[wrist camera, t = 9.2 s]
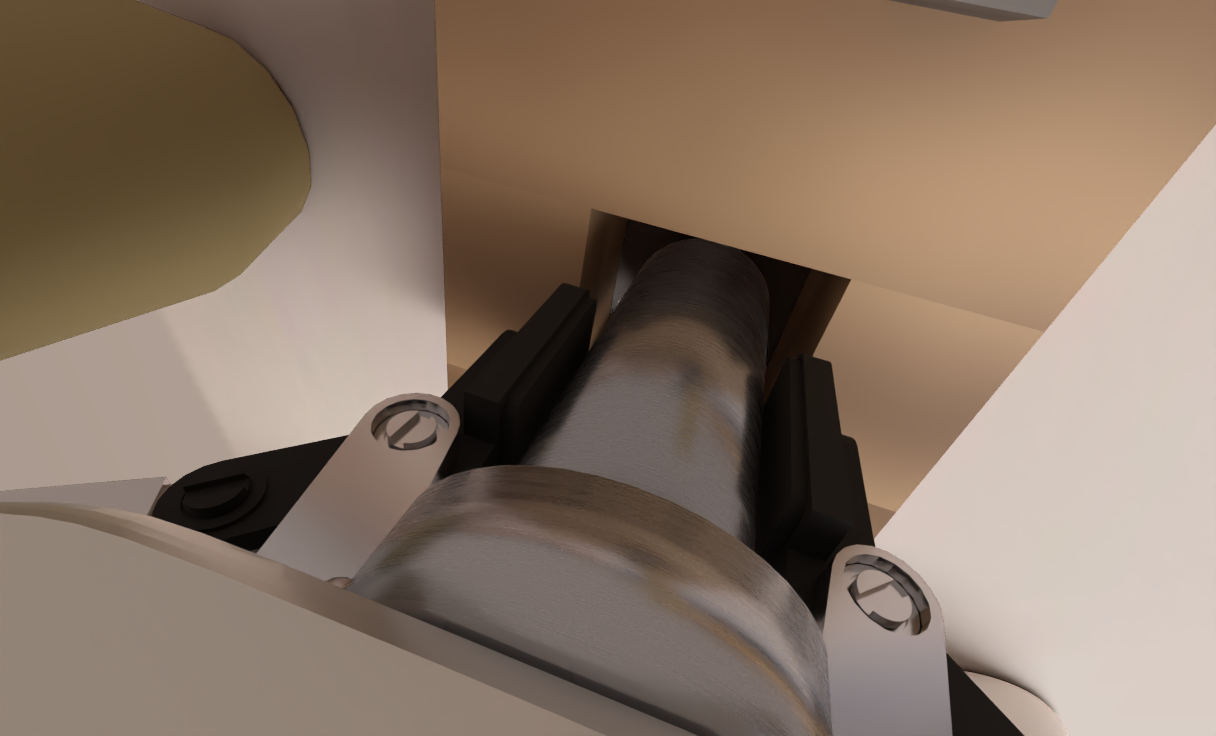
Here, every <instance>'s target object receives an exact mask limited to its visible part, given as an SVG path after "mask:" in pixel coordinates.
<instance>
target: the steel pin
mask: <svg viewBox="0 0 1216 736" xmlns="http://www.w3.org/2000/svg"><path fill="white" fill-rule="evenodd" d="M769 304H770V299H769V291H768V288H767V284H766V281H765V279H764V277H763V275H762V273H761V272H760V270H759V269H758V267H757V266H756V265H755V263H754V262H753V261H752V260H751V259H750V258H749V257H748V256H746V255H745V254H744V253H743V252H741V251H740V250H738V249H737V248H735V247H731V246H727V245H724V244H720V243H716V242H712V241H709V240H705V239H701V238H693V239H685V240H680V241H677V242H674V243H671V244H669V245H667V246H665V247H663V248H661V249H660V250H658V251H657V252H655V253H654V254H653V255H652V256H651V257H650V258H649V259H648V260H647V261H646V262H645V263H644V265H643V266H642V268H641V269H640V271H639V272H638V274H637V276H636V277H635V279H634V280H633V282H632V284H631V285H630V287H629V288H628V290H627V292H626V293H625V295H624V296H623V298H622V299H621V301H620V303H619V304H618V306H617V307H616V309H615V311H614V312H613V314H612V315H611V317H610V319H609V320H608V322H607V323H606V325H605V327H604V328H603V330H602V331H601V333H600V334H599V336H598V338H597V339H596V341H595V342H594V344H593V346H592V347H591V349H590V350H589V352H588V354H587V355H586V357H585V358H584V360H583V362H582V363H581V365H580V366H579V368H578V369H577V371H576V373H575V374H574V376H573V377H572V379H571V381H570V382H569V384H568V385H567V387H566V389H565V390H564V392H563V393H562V395H561V397H560V398H559V400H558V401H557V403H556V404H555V406H554V408H553V409H552V411H551V412H550V414H549V416H548V417H547V419H546V420H545V422H544V424H543V425H542V427H541V428H540V430H539V432H538V433H537V435H536V436H535V438H534V439H533V441H532V443H531V444H530V446H529V447H528V449H527V451H526V452H525V454H524V455H523V457H522V459H521V460H520V462H519V463H518V465H499V466H491V467H484V468H476V469H471V470H468V471H464V472H461V473H457V474H454V475H451V476H449V477H447V478H445V479H443V480H441V481H439V482H436V483H434V484H433V485H431V486H430V487H429V488H427V489H426V490H425V491H424V492H422V493H421V494H420V495H419V496H418V497H417V498H416V499H415V501H414V502H413V503H412V504H411V506H410V507H409V508H408V509H407V511H406V512H405V513H404V514H403V516H402V517H401V518H400V519H399V521H398V522H397V523H396V524H395V526H394V527H393V528H392V529H391V531H390V532H389V533H388V534H387V536H386V537H385V538H384V539H383V541H382V542H381V543H380V544H379V546H378V547H377V548H376V549H375V551H374V552H373V553H372V554H371V556H370V557H369V558H368V559H367V560H366V562H365V563H364V564H363V565H362V567H361V568H360V569H359V570H358V572H357V573H356V574H355V575H354V577H353V578H352V579H351V580H350V582H349V583H348V584H347V586H346V587H345V588H344V589H345V590H348V591H350V592H353V593H355V594H357V595H360V596H362V597H365V598H367V599H370V600H372V601H374V602H377V603H379V604H382V605H384V606H387V607H389V608H392V609H394V610H396V611H399V612H401V613H404V614H406V615H409V616H411V617H414V618H416V619H418V620H421V621H423V622H426V623H428V624H431V625H433V626H435V627H438V628H440V629H443V630H445V631H448V632H450V633H453V634H455V635H457V636H460V637H462V638H465V639H467V640H470V641H472V642H474V643H477V644H479V645H482V646H484V647H486V648H489V649H491V650H494V651H496V652H498V653H501V654H503V655H506V656H508V657H510V658H513V659H515V660H518V661H520V662H523V663H525V664H527V665H530V666H532V667H535V668H537V669H539V670H542V671H544V672H547V673H549V674H551V675H554V676H556V677H559V678H561V679H563V680H566V681H568V682H571V683H573V684H575V685H578V686H580V687H583V688H585V689H587V690H590V691H592V692H595V693H597V694H599V695H602V696H604V697H607V698H609V699H611V700H614V701H616V702H619V703H621V704H623V705H626V706H628V707H631V708H633V709H635V710H638V711H640V712H643V713H645V714H647V715H650V716H652V717H655V718H657V719H659V720H662V721H664V722H667V723H669V724H671V725H674V726H676V727H679V728H681V729H683V730H686V731H688V732H691V733H693V734H695V735H698V736H833V732H832V717H831V702H830V687H829V672H828V657H827V648H826V645H825V642H824V639H823V636H822V634H821V631H820V628H819V626H818V624H817V623H816V621H815V619H814V617H813V616H812V614H811V612H810V610H809V609H808V607H807V605H806V604H805V603H804V602H803V600H802V599H801V598H800V597H799V595H798V594H797V593H796V592H795V590H794V589H793V588H792V587H791V585H790V584H789V583H788V582H787V581H786V580H785V579H784V578H783V577H782V576H781V575H780V574H779V573H778V572H777V571H776V570H775V569H774V568H773V567H772V566H771V565H770V564H769V563H768V562H767V561H765V560H764V559H763V558H762V557H760V556H759V555H758V554H756V553H755V552H754V551H755V535H756V519H757V502H758V486H759V470H760V454H761V437H762V421H763V405H764V388H765V372H766V356H767V339H768V323H769Z"/></svg>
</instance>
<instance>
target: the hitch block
mask: <svg viewBox="0 0 1216 736" xmlns="http://www.w3.org/2000/svg"><path fill="white" fill-rule="evenodd" d="M435 25H436V54H437V83H438V112H439V141H440V171H441V200H442V229H443V258H444V287H445V316H446V345H447V374H448V389H449V388H450V387H451V386H452V385H453V384H454V383H455V382H456V381H457V380H458V379H459V378H460V377H461V376H462V375H463V374H464V373H465V372H466V371H467V370H468V368H469V367H470V366H471V365H472V364H473V363H474V362H475V361H476V360H477V359H478V358H479V357H480V356H481V355H482V354H483V353H484V352H485V351H486V350H487V349H488V348H489V347H490V345H491V344H492V343H493V342H494V341H495V340H496V339H497V338H498V337H499V336H500V335H501V334H502V333H503V332H504V331H506V330H514V331H517V332H518V331H519V330H520V329H521V328H522V327H523V326H524V324H525V323H526V322H527V321H528V320H529V319H530V318H531V317H532V316H533V315H534V313H535V312H536V311H537V310H538V309H539V308H540V307H541V306H542V305H543V304H544V302H545V301H546V300H547V299H548V298H549V297H550V296H551V295H552V294H553V293H554V291H555V290H556V289H557V288H558V287H559V286H560V285H561V284H562V283H567V284H570V285H574V286H577V287H580V288H584V289H587V290H589V292H590V298H593V299H596V300H597V306H596V312H595V318H594V324H593V329H592V335H591V341H590V347H589V350H590V349H591V347H592V346H593V344H594V342H595V341H596V339H597V338H598V336H599V334H600V333H601V331H602V330H603V328H604V327H605V325H606V323H607V322H608V319H609V314H610V309H611V304H612V299H613V294H614V288H615V283H616V278H617V273H618V268H619V263H620V258H621V253H622V247H623V242H624V237H625V232H626V227H627V222H628V219H632V220H635V221H639V222H643V223H646V224H650V225H654V226H657V227H661V228H665V229H668V230H672V231H676V232H679V233H683V234H687V235H690V236H694V237H698V238H701V239H705V240H709V241H712V242H716V243H720V244H724V245H727V246H731V247H735V248H738V249H742V250H746V251H749V252H753V253H757V254H760V255H764V256H768V257H771V258H775V259H779V260H782V261H786V262H790V263H793V264H797V265H801V266H804V267H808V268H812V269H811V271H810V273H809V275H808V278H807V280H806V282H805V284H804V287H803V289H802V291H801V293H800V295H799V298H798V300H797V302H796V304H795V307H794V309H793V311H792V313H791V315H790V318H789V320H788V322H787V324H786V327H785V329H784V331H783V333H782V336H781V338H780V340H779V342H778V344H777V347H776V349H775V351H774V353H773V356H772V358H771V360H770V362H769V364H768V367H767V369H766V372H765V388H764V405H765V402H766V400H767V398H768V396H769V394H770V392H771V390H772V388H773V385H774V383H775V381H776V379H777V377H778V375H779V373H780V371H781V369H782V366H783V364H784V362H785V360H786V359H787V358H788V357H790V358H794V359H797V357H798V356H799V355H800V354H801V353H803V354H806V355H809V356H813V357H816V358H819V359H823V360H826V361H829V362H831V364H832V370H833V377H834V384H835V391H836V398H837V405H838V412H839V419H840V426H841V434H843V435H846V436H849V437H852V438H853V439H855V441H856V443H857V446H858V452H859V458H860V464H861V469H862V475H863V481H864V486H865V492H866V498H867V503H868V509H869V515H870V520H871V526H872V532H873V537H874V538H875V537H876V536H877V534H878V533H879V532H880V531H881V530H882V528H883V527H884V526H885V525H886V524H887V522H888V521H889V520H890V519H891V518H892V516H893V515H894V514H895V513H896V511H897V510H898V509H899V508H900V507H901V505H902V504H903V503H904V502H905V501H906V499H907V498H908V497H909V496H910V494H911V493H912V492H913V491H914V490H915V488H916V487H917V486H918V485H919V484H920V482H921V481H922V480H923V479H924V477H925V476H926V475H927V474H928V473H929V471H930V470H931V469H932V468H933V467H934V465H935V464H936V463H937V462H938V461H939V459H940V458H941V457H942V456H943V454H944V453H945V452H946V451H947V450H948V448H949V447H950V446H951V445H952V444H953V442H954V441H955V440H956V439H957V437H958V436H959V435H960V434H961V433H962V431H963V430H964V429H965V428H966V427H967V425H968V424H969V423H970V422H971V420H972V419H973V418H974V417H975V416H976V414H977V413H978V412H979V411H980V410H981V408H982V407H983V406H984V405H985V404H986V402H987V401H988V400H989V399H990V397H991V396H992V395H993V394H994V393H995V391H996V390H997V389H998V388H999V387H1000V385H1001V384H1002V383H1003V382H1004V380H1005V379H1006V378H1007V377H1008V376H1009V374H1010V373H1011V372H1012V371H1013V370H1014V368H1015V367H1016V366H1017V365H1018V363H1019V362H1020V361H1021V360H1022V359H1023V357H1024V356H1025V355H1026V354H1027V353H1028V351H1029V350H1030V349H1031V348H1032V346H1033V345H1034V344H1035V343H1036V342H1037V340H1038V339H1039V338H1040V337H1041V336H1042V334H1043V333H1044V332H1045V331H1046V330H1047V328H1048V327H1049V326H1050V325H1051V323H1052V322H1053V321H1054V320H1055V319H1056V317H1057V316H1058V315H1059V314H1060V313H1061V311H1062V310H1063V309H1064V308H1065V306H1066V305H1067V304H1068V303H1069V302H1070V300H1071V299H1072V298H1073V297H1074V296H1075V294H1076V293H1077V292H1078V291H1079V289H1080V288H1081V287H1082V286H1083V285H1084V283H1085V282H1086V281H1087V280H1088V279H1089V277H1090V276H1091V275H1092V274H1093V273H1094V271H1095V270H1096V269H1097V268H1098V266H1099V265H1100V264H1101V263H1102V262H1103V260H1104V259H1105V258H1106V257H1107V256H1108V254H1109V253H1110V252H1111V251H1112V249H1113V248H1114V247H1115V246H1116V245H1117V243H1118V242H1119V241H1120V240H1121V239H1122V237H1123V236H1124V235H1125V234H1126V232H1127V231H1128V230H1129V229H1130V228H1131V226H1132V225H1133V224H1134V223H1135V222H1136V220H1137V219H1138V218H1139V217H1140V215H1141V214H1142V213H1143V212H1144V211H1145V209H1146V208H1147V207H1148V206H1149V205H1150V203H1151V202H1152V201H1153V200H1154V199H1155V197H1156V196H1157V195H1158V194H1159V192H1160V191H1161V190H1162V189H1163V188H1164V186H1165V185H1166V184H1167V183H1168V182H1169V180H1170V179H1171V178H1172V177H1173V175H1174V174H1175V173H1176V172H1177V171H1178V169H1179V168H1180V167H1181V166H1182V165H1183V163H1184V162H1185V161H1186V160H1187V158H1188V157H1189V156H1190V155H1191V154H1192V152H1193V151H1194V150H1195V149H1196V148H1197V146H1198V145H1199V144H1200V143H1201V142H1202V140H1203V139H1204V138H1205V137H1206V135H1207V134H1208V133H1209V132H1210V131H1211V129H1212V128H1213V127H1214V126H1215V125H1216V0H435ZM764 405H763V407H764Z"/></svg>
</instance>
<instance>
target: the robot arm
mask: <svg viewBox="0 0 1216 736" xmlns="http://www.w3.org/2000/svg"><path fill="white" fill-rule="evenodd" d="M596 306H597V300H596V299H593V298H590V292H589V290H587V289H584V288H580V287H577V286H574V285H570V284H567V283H562V284H561V285H560V286H559V287H558V288H557V289H556V290H555V291H554V293H553V294H552V295H551V296H550V297H549V298H548V299H547V300H546V301H545V302H544V304H543V305H542V306H541V307H540V308H539V309H538V310H537V311H536V312H535V313H534V315H533V316H532V317H531V318H530V319H529V320H528V321H527V322H526V323H525V324H524V326H523V327H522V328H521V329H520V330H519V331H518V332H517V331H514V330H506V331H504V332H503V333H502V334H501V335H500V336H499V337H498V338H497V339H496V340H495V341H494V342H493V343H492V344H491V345H490V347H489V348H488V349H487V350H486V351H485V352H484V353H483V354H482V355H481V356H480V357H479V358H478V359H477V360H476V361H475V362H474V363H473V364H472V365H471V366H470V367H469V368H468V370H467V371H466V372H465V373H464V374H463V375H462V376H461V377H460V378H459V379H458V380H457V381H456V382H455V383H454V384H453V385H452V386H451V387H450V388H449V389H448V390H447V391H446V393H445V394H444V395H443V396H442V397H441V398H440V397H437V396H434V395H431V394H422V393H411V394H401V395H398V396H394V397H391V398H387V399H385V400H384V401H382V402H380V403H378V404H376V405H375V406H373V407H372V408H371V409H370V410H369V411H368V412H367V413H366V414H365V415H364V416H363V418H362V419H361V420H360V422H359V423H358V424H357V425H356V427H355V428H354V429H353V431H352V432H351V433H350V434H349V435H347V436H342V437H337V438H332V439H327V440H322V441H317V442H312V443H307V444H303V445H298V446H293V447H288V448H283V449H278V450H273V451H268V452H263V453H259V454H254V455H249V456H244V457H239V458H234V459H229V460H224V461H221V462H217V463H214V464H210V465H207V466H203V467H201V468H199V469H197V470H195V471H193V472H191V473H189V474H187V475H185V476H183V477H182V478H181V479H179V480H178V481H177V482H175V483H174V484H170V482H169V480H168V478H167V477H157V478H146V479H134V480H123V481H111V482H100V483H88V484H76V485H65V486H53V487H41V488H29V489H17V490H6V491H1V492H0V736H698V735H695V734H693V733H691V732H688V731H686V730H683V729H681V728H679V727H676V726H674V725H671V724H669V723H667V722H664V721H662V720H659V719H657V718H655V717H652V716H650V715H647V714H645V713H643V712H640V711H638V710H635V709H633V708H631V707H628V706H626V705H623V704H621V703H619V702H616V701H614V700H611V699H609V698H607V697H604V696H602V695H599V694H597V693H595V692H592V691H590V690H587V689H585V688H583V687H580V686H578V685H575V684H573V683H571V682H568V681H566V680H563V679H561V678H559V677H556V676H554V675H551V674H549V673H547V672H544V671H542V670H539V669H537V668H535V667H532V666H530V665H527V664H525V663H523V662H520V661H518V660H515V659H513V658H510V657H508V656H506V655H503V654H501V653H498V652H496V651H494V650H491V649H489V648H486V647H484V646H482V645H479V644H477V643H474V642H472V641H470V640H467V639H465V638H462V637H460V636H457V635H455V634H453V633H450V632H448V631H445V630H443V629H440V628H438V627H435V626H433V625H431V624H428V623H426V622H423V621H421V620H418V619H416V618H414V617H411V616H409V615H406V614H404V613H401V612H399V611H396V610H394V609H392V608H389V607H387V606H384V605H382V604H379V603H377V602H374V601H372V600H370V599H367V598H365V597H362V596H360V595H357V594H355V593H353V592H350V591H348V590H345V589H344V588H345V587H346V586H347V584H348V583H349V582H350V580H351V579H352V578H353V577H354V575H355V574H356V573H357V572H358V570H359V569H360V568H361V567H362V565H363V564H364V563H365V562H366V560H367V559H368V558H369V557H370V556H371V554H372V553H373V552H374V551H375V549H376V548H377V547H378V546H379V544H380V543H381V542H382V541H383V539H384V538H385V537H386V536H387V534H388V533H389V532H390V531H391V529H392V528H393V527H394V526H395V524H396V523H397V522H398V521H399V519H400V518H401V517H402V516H403V514H404V513H405V512H406V511H407V509H408V508H409V507H410V506H411V504H412V503H413V502H414V501H415V499H416V498H417V497H418V496H419V495H420V494H421V493H422V492H424V491H425V490H426V489H427V488H429V487H430V486H431V485H433V484H434V483H436V482H439V481H441V480H443V479H445V478H447V477H449V476H451V475H454V474H457V473H461V472H464V471H468V470H471V469H476V468H484V467H491V466H499V465H518V463H519V462H520V460H521V459H522V457H523V455H524V454H525V452H526V451H527V449H528V447H529V446H530V444H531V443H532V441H533V439H534V438H535V436H536V435H537V433H538V432H539V430H540V428H541V427H542V425H543V424H544V422H545V420H546V419H547V417H548V416H549V414H550V412H551V411H552V409H553V408H554V406H555V404H556V403H557V401H558V400H559V398H560V397H561V395H562V393H563V392H564V390H565V389H566V387H567V385H568V384H569V382H570V381H571V379H572V377H573V376H574V374H575V373H576V371H577V369H578V368H579V366H580V365H581V363H582V362H583V360H584V358H585V357H586V355H587V354H588V352H589V347H590V341H591V335H592V329H593V324H594V318H595V312H596ZM754 552H755V553H756V554H758V555H759V556H760V557H762V558H763V559H764V560H765V561H767V562H768V563H769V564H770V565H771V566H772V567H773V568H774V569H775V570H776V571H777V572H778V573H779V574H780V575H781V576H782V577H783V578H784V579H785V580H786V581H787V582H788V583H789V584H790V585H791V587H792V588H793V589H794V590H795V592H796V593H797V594H798V595H799V597H800V598H801V599H802V600H803V602H804V603H805V604H806V605H807V607H808V609H809V610H810V612H811V614H812V616H813V617H814V619H815V621H816V623H817V624H818V626H819V628H820V631H821V634H822V636H823V639H824V642H825V645H826V648H827V657H828V672H829V687H830V702H831V717H832V732H833V736H1024V735H1023V734H1022V732H1021V731H1020V730H1019V729H1018V728H1017V727H1016V726H1015V725H1014V724H1013V723H1012V722H1011V721H1010V720H1009V719H1008V718H1007V717H1006V716H1005V714H1004V713H1003V712H1002V711H1001V710H1000V709H999V708H998V707H997V706H996V705H995V704H994V703H993V702H992V701H991V700H990V699H989V698H988V696H987V695H986V694H985V693H984V692H983V691H982V690H981V689H980V688H979V687H978V686H977V685H976V684H975V683H974V682H973V681H972V680H971V679H970V677H969V676H968V675H967V674H966V673H965V672H964V671H963V670H962V669H961V668H960V667H959V666H958V665H957V664H956V663H955V662H954V661H953V659H952V658H951V657H950V656H949V655H948V654H947V653H946V645H945V632H944V620H943V616H942V612H941V608H940V605H939V603H938V601H937V599H936V597H935V595H934V594H933V592H932V590H931V588H930V587H929V586H928V585H927V584H926V582H925V581H924V580H923V579H922V578H921V576H920V575H919V574H918V573H917V572H916V571H914V570H913V569H912V568H911V567H910V566H908V565H907V564H906V563H905V562H904V561H902V560H901V559H899V558H897V557H896V556H894V555H892V554H890V553H889V552H887V551H884V550H881V549H879V548H876V547H875V543H874V537H873V532H872V526H871V520H870V515H869V509H868V503H867V498H866V492H865V486H864V481H863V475H862V469H861V464H860V458H859V452H858V446H857V443H856V441H855V439H853V438H852V437H849V436H846V435H843V434H841V426H840V419H839V412H838V405H837V398H836V391H835V384H834V377H833V370H832V364H831V362H829V361H826V360H823V359H819V358H816V357H813V356H809V355H806V354H803V353H801V354H800V355H799V356H798V357H797V359H794V358H790V357H788V358H787V359H786V360H785V362H784V364H783V366H782V369H781V371H780V373H779V375H778V377H777V379H776V381H775V383H774V385H773V388H772V390H771V392H770V394H769V396H768V398H767V400H766V402H765V405H764V407H763V421H762V437H761V454H760V470H759V486H758V502H757V519H756V535H755V551H754Z"/></svg>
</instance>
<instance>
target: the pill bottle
mask: <svg viewBox="0 0 1216 736" xmlns="http://www.w3.org/2000/svg"><path fill="white" fill-rule="evenodd" d="M964 672H965V673H966V674H967V675H968V676H969V677H970V679H971V680H972V681H973V682H974V683H975V684H976V685H977V686H978V687H979V688H980V689H981V690H982V691H983V692H984V693H985V694H986V695H987V696H988V698H989V699H990V700H991V701H992V702H993V703H994V704H995V705H996V706H997V707H998V708H999V709H1000V710H1001V711H1002V712H1003V713H1004V714H1005V716H1006V717H1007V718H1008V719H1009V720H1010V721H1011V722H1012V723H1013V724H1014V725H1015V726H1016V727H1017V728H1018V729H1019V730H1020V731H1021V732H1022V734H1023V735H1024V736H1069V734H1068V732H1067V730H1066V728H1065V726H1064V725H1063V723H1062V721H1061V720H1060V719H1059V717H1058V716H1057V715H1056V714H1055V713H1054V711H1053V710H1052V709H1051V708H1050V707H1049V706H1048V705H1046V704H1045V703H1044V702H1043V701H1042V700H1040V699H1039V698H1037V697H1036V696H1034V695H1033V694H1031V693H1029V692H1027V691H1026V690H1024V689H1022V688H1019V687H1017V686H1015V685H1013V684H1010V683H1008V682H1005V681H1002V680H999V679H996V678H993V677H989V676H985V675H981V674H977V673H972V672H966V671H964Z"/></svg>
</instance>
